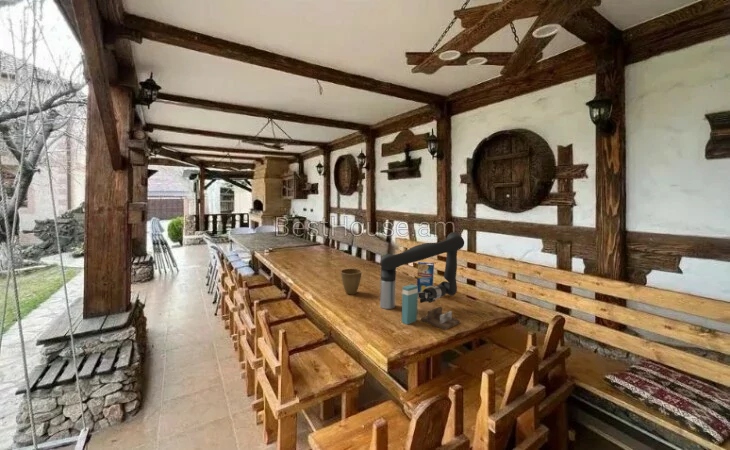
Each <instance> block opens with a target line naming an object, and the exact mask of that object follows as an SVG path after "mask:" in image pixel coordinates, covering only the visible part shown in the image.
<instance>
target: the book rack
mask: <svg viewBox="0 0 730 450" xmlns="http://www.w3.org/2000/svg"><path fill="white" fill-rule="evenodd" d="M426 312H427V313H426V315H425V316H422V317H421V318H420V321H421V322H423V323H426V324H429V325H431V326H433V327H435V328H439V329H441V330H443V331H446V330H448V329H450V328H452V327H455V326H457V325H459V324H460V323H461V320H459V319H457V318H453V317H452V316H453V311H452V310H450V311H447V312H445V313H443V306H438V307H436V308H433V309H430V310H429V311H426Z"/></svg>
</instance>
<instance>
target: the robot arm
mask: <svg viewBox="0 0 730 450" xmlns="http://www.w3.org/2000/svg"><path fill="white" fill-rule="evenodd" d="M464 246H465V239H464V238H463V237H462V235H460V234H459V233H458V232H455V231H452V232H449V234H447V237H446V239H445V240H442V241H438V242H425V243H421V244H416V245H415V246H413V247H410V248H408V249H407V250H405V251H402V252H399V253H397V254H391V253H385V254H384V255H383V256H382V257H381V259H380V297H379V298H380V300H379V302H380V303H379V306H380V308H382V309H384V310H393V309H394V308H395V307H396V279H397V278H396V276H397V274H396V273H397V269H398V268H399V267H402V266H404V265H407V264H408V265H409V264H412V263H417V262H421V261H423V260H426V259H429V258H432V257H436V256H439V255H441V254H445V253H446V257H445V258H446V260H445V266H444V274H443V275H444V276H443V277H444V280H445V281H442V282H440V283H439V284H438V285H435V286H434V285H433V287H429V288H426V289H424V290H423V292H418V296H417V300H419V303H420V304H422V303H430V304H431V303H432V302H435V301H436V300H437V299H439V298H441V297H444V296H445V295H446V294H447V296H455V295H456V294H457V291H458V285H457V284H458V283H457V278H456V277H457V272H458V271H457V270H458V251H459V250H461V249H462V248H463V247H464Z"/></svg>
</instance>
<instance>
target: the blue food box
mask: <svg viewBox="0 0 730 450" xmlns="http://www.w3.org/2000/svg"><path fill="white" fill-rule="evenodd" d="M434 269H435V262H424V261H423V262H422V261H417V271H416V272H417V273H416V274H417V275H416V279H417V280H416V286H418V292H423V290H424V289H426V288H429V287H433V286H434V271H435V270H434Z"/></svg>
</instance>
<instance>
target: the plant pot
mask: <svg viewBox="0 0 730 450" xmlns="http://www.w3.org/2000/svg"><path fill="white" fill-rule="evenodd" d="M362 272H363V271H362V270H361V269H358V268H343V269H342V270H340V275H341V277H340V278H341V282H342V285H343V289H344V291H345V294H347V295H355V294H357V293H358V289H359V286H360V284H361V283H360V282H361V279H362Z"/></svg>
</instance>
